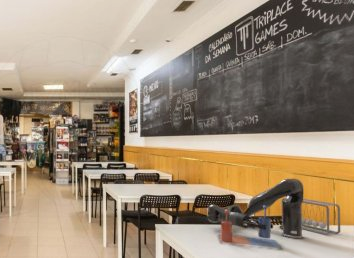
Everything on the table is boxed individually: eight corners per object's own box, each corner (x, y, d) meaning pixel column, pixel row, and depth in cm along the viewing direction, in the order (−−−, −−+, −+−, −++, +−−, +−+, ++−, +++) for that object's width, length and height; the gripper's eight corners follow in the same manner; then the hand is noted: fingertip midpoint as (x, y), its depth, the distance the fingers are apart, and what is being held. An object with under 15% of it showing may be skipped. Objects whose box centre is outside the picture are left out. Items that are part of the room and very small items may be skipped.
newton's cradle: (340, 234, 201) (340, 204, 202) (328, 235, 198) (327, 205, 199) (293, 223, 230) (292, 196, 230) (281, 224, 226) (281, 197, 227)
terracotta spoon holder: (220, 238, 185) (220, 208, 186) (231, 240, 184) (231, 208, 184) (221, 241, 180) (221, 209, 181) (232, 242, 178) (232, 210, 179)
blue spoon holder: (257, 234, 184) (258, 203, 184) (269, 236, 182) (269, 204, 182) (259, 237, 179) (260, 205, 179) (271, 238, 177) (272, 206, 177)
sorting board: (218, 235, 195) (218, 234, 195) (274, 241, 185) (274, 239, 185) (220, 243, 180) (220, 241, 180) (281, 249, 170) (281, 248, 170)
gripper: (246, 225, 196) (276, 232, 182) (231, 227, 189) (261, 236, 175) (246, 212, 196) (277, 218, 182) (231, 214, 189) (261, 221, 175)
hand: (269, 227), depth 178 cm, fingers closed on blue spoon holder, 5 cm apart
